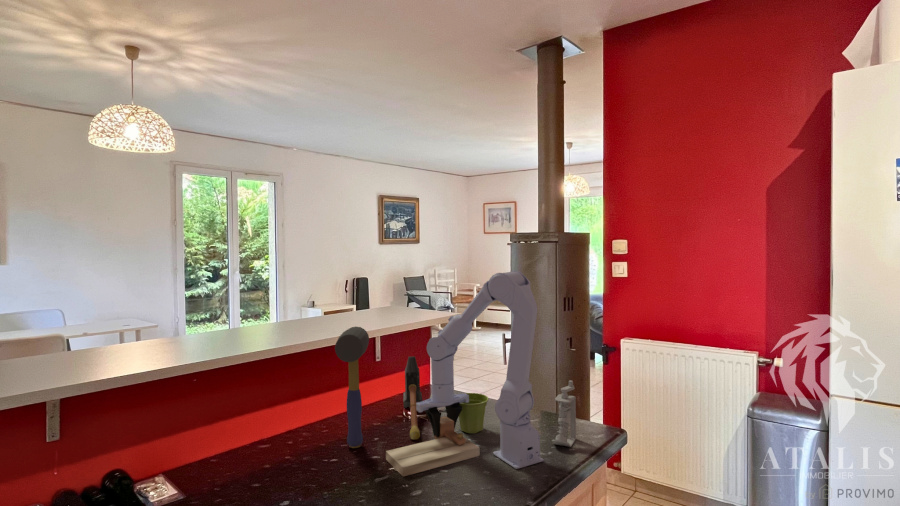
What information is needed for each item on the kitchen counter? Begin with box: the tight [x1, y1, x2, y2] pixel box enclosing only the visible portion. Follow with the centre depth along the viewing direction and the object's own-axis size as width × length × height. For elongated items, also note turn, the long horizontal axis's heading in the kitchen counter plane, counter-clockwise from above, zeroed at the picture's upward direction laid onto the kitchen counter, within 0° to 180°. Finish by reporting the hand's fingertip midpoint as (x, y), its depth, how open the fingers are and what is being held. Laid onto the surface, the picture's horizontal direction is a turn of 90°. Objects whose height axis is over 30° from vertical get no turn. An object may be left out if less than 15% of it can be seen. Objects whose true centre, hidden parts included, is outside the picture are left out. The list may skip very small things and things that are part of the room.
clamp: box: [551, 379, 577, 448], centre depth 123 cm, size 4×10×15 cm, turn 152°
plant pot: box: [458, 392, 489, 434], centre depth 133 cm, size 9×9×9 cm
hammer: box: [402, 355, 423, 440], centre depth 141 cm, size 6×16×30 cm
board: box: [385, 437, 481, 477], centre depth 116 cm, size 10×20×2 cm, turn 119°
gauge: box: [433, 415, 466, 445], centre depth 123 cm, size 11×4×5 cm, turn 29°
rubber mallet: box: [334, 326, 370, 449], centre depth 123 cm, size 12×8×30 cm, turn 2°
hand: (443, 434), depth 126 cm, fingers closed on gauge, 4 cm apart
